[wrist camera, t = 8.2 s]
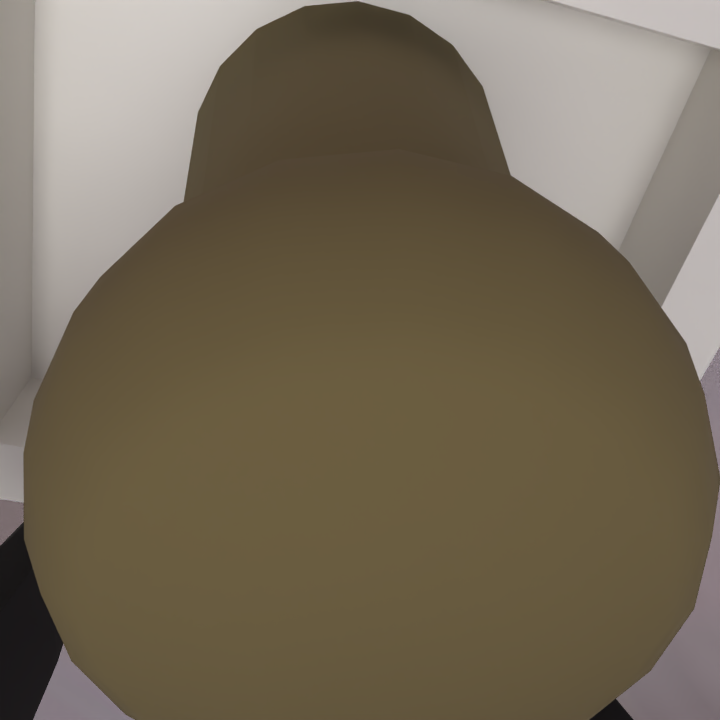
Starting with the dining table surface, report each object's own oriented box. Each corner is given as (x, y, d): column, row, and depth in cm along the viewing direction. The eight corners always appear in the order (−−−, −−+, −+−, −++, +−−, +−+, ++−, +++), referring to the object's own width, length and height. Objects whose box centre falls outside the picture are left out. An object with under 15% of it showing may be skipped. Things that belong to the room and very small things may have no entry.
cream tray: (806, -20, 13) (927, -13, 10) (547, 500, 19) (581, 586, 16) (-51, -288, 10) (-176, -366, 8) (-25, 404, 17) (-89, 485, 14)
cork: (143, 50, 12) (-463, 360, 3) (473, -41, 12) (1034, -22, 2) (248, 335, 15) (118, 941, 6) (516, 273, 15) (840, 828, 5)
